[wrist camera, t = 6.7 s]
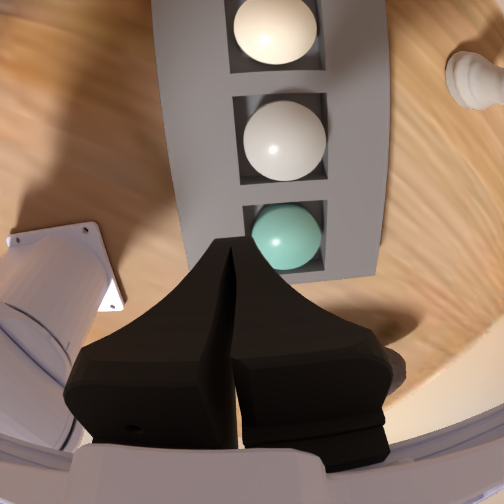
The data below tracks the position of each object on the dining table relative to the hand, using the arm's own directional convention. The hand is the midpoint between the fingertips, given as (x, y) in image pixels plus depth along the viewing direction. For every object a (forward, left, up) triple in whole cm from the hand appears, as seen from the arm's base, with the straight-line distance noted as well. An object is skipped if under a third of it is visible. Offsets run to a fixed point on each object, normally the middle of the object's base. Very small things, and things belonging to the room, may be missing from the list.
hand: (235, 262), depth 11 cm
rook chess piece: (+17, +7, -11) cm, 21 cm away
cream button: (+3, +9, -10) cm, 13 cm away
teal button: (+3, -4, -10) cm, 11 cm away
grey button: (+3, +2, -9) cm, 9 cm away
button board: (+3, +2, -10) cm, 11 cm away
